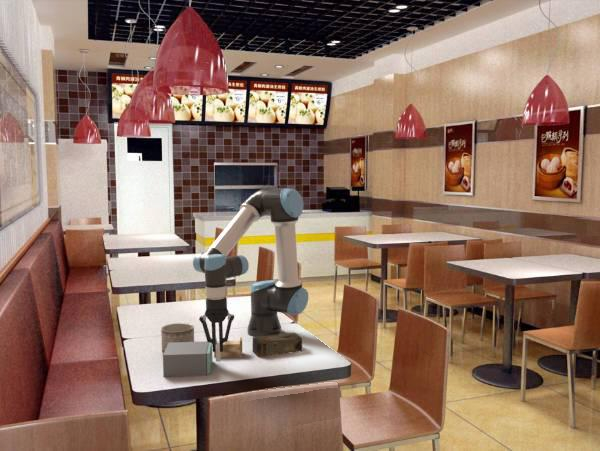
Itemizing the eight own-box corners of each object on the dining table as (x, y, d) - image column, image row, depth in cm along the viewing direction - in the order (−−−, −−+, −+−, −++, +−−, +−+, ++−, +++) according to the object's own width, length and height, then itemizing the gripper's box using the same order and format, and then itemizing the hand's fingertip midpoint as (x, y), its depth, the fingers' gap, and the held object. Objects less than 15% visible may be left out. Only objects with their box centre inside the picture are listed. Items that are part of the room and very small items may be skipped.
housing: (209, 361, 215) (208, 341, 214) (206, 375, 200) (206, 353, 200) (169, 362, 214) (168, 342, 213) (163, 376, 199) (162, 355, 198)
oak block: (242, 352, 225) (242, 337, 224) (242, 356, 220) (242, 341, 220) (214, 353, 224) (214, 338, 223) (214, 357, 219) (213, 341, 219)
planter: (159, 350, 229) (158, 325, 228) (190, 346, 234) (190, 321, 233) (165, 359, 217) (164, 333, 216) (197, 355, 222) (197, 329, 221)
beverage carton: (303, 352, 226) (303, 336, 226) (257, 358, 219) (257, 341, 219) (295, 346, 234) (295, 330, 233) (251, 352, 227) (251, 336, 226)
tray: (212, 360, 215) (212, 341, 214) (209, 373, 201) (209, 353, 200) (172, 361, 213) (171, 342, 213) (167, 375, 199) (166, 354, 199)
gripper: (234, 294, 210) (236, 356, 212) (199, 295, 209) (201, 357, 211) (234, 299, 202) (235, 362, 205) (197, 300, 201) (199, 364, 204)
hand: (218, 360), depth 208 cm, fingers closed
